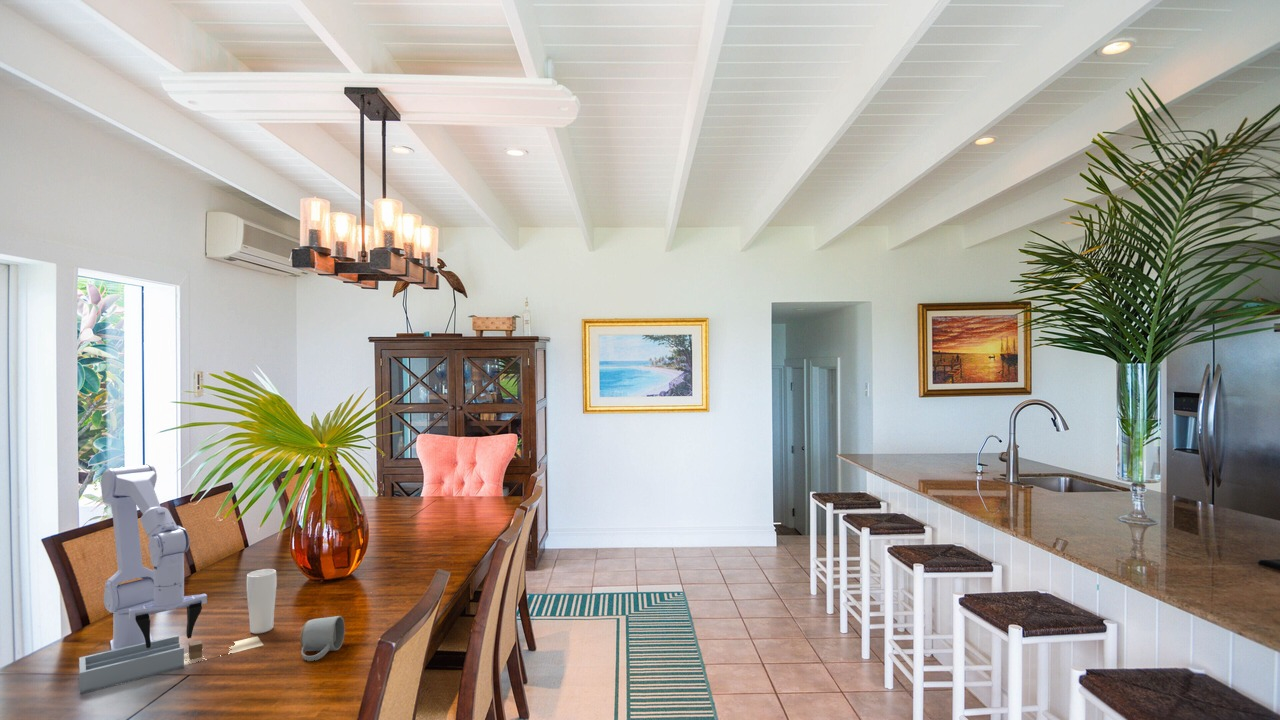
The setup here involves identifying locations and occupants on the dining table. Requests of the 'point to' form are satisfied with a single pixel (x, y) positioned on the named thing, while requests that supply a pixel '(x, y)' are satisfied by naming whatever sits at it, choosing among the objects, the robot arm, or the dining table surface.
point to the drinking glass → (261, 599)
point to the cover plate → (240, 645)
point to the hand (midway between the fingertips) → (168, 641)
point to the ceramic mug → (322, 636)
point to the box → (129, 664)
